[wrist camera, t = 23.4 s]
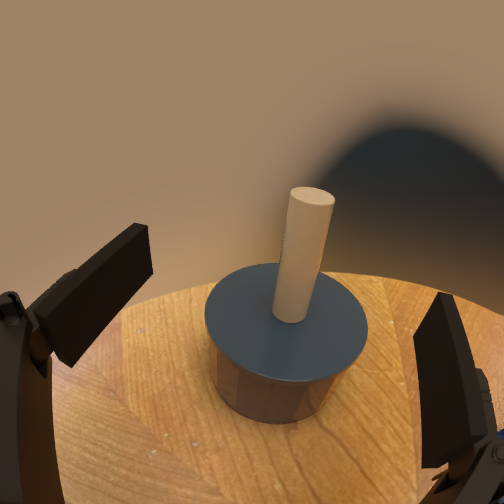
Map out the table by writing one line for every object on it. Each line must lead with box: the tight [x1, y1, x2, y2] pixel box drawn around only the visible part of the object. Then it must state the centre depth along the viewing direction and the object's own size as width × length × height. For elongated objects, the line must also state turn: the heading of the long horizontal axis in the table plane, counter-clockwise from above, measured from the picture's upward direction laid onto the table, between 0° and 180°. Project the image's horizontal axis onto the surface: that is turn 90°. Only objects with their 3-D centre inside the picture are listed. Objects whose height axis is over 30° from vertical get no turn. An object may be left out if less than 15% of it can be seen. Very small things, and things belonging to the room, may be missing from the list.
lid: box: [205, 187, 368, 386], centre depth 19 cm, size 12×12×10 cm
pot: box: [209, 338, 346, 424], centre depth 23 cm, size 11×11×7 cm
